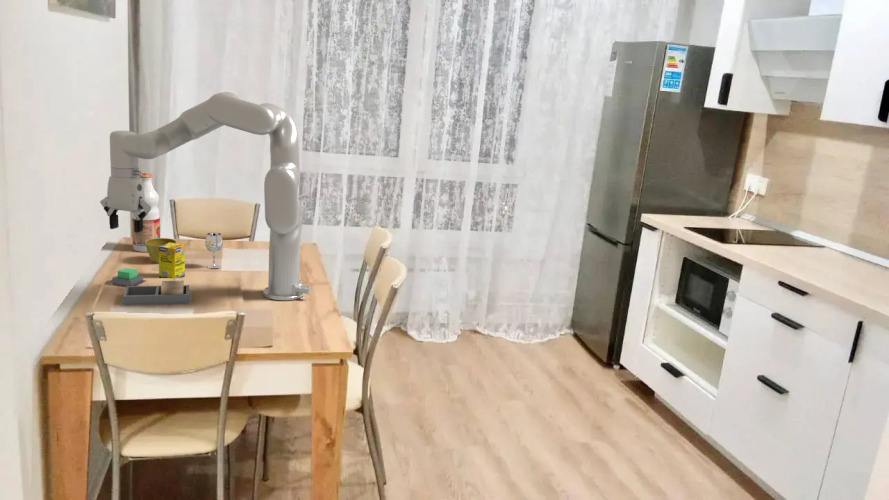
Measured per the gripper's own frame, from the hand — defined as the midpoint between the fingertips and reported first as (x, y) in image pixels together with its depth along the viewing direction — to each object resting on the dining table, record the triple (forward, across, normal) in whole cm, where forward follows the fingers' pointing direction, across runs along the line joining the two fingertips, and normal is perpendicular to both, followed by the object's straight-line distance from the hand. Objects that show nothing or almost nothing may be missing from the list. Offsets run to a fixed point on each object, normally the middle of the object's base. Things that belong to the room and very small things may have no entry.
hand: (126, 229), depth 210 cm
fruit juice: (+18, +19, -38) cm, 46 cm away
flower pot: (+18, +6, -27) cm, 33 cm away
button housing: (+18, 0, 0) cm, 18 cm away
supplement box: (+18, -7, -13) cm, 23 cm away
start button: (+15, 0, 0) cm, 15 cm away
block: (+17, -20, +7) cm, 27 cm away
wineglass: (+18, -13, -29) cm, 37 cm away
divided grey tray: (+18, -16, +9) cm, 26 cm away
